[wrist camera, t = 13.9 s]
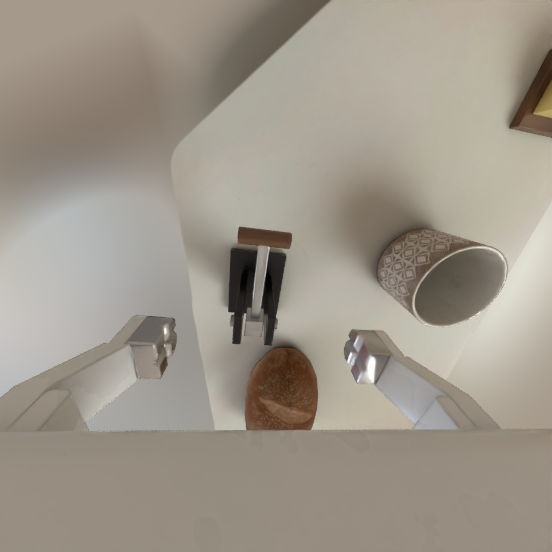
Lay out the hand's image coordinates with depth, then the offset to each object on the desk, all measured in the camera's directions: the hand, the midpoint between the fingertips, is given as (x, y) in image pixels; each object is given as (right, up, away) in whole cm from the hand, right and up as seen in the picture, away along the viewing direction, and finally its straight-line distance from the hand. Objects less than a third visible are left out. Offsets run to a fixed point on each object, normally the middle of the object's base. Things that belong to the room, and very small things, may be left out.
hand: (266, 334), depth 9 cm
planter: (+24, +5, +27) cm, 37 cm away
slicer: (-3, +2, +27) cm, 27 cm away
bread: (+1, -25, +40) cm, 47 cm away
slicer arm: (-2, +2, +14) cm, 15 cm away
